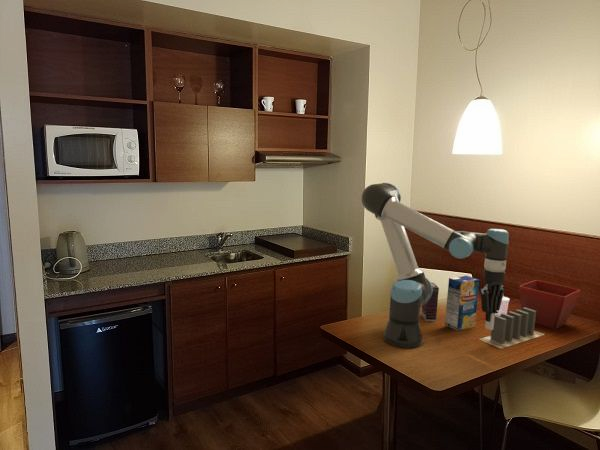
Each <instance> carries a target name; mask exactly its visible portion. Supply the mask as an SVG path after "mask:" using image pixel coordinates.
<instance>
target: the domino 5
mask: <svg viewBox="0 0 600 450" xmlns="http://www.w3.org/2000/svg"><path fill="white" fill-rule="evenodd" d="M521 311H524V312H527V313H529V320H528V329H527V333H528V334H531V335H532V334H534V331H535V328H536V327H535V324H536V323H535V318H536V311H535V310H532V309H528V308H525V307H524V308H523V310H522V309H521Z"/></svg>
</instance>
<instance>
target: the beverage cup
mask: <svg viewBox="0 0 600 450" xmlns="http://www.w3.org/2000/svg"><path fill="white" fill-rule="evenodd" d="M504 294H505V292H504V293H503V295H504ZM509 302H510V298H509V297H507V296H503V297H502V302H501V306H500V310H499V311H498V310H497V312H498V313H495V315H497V316H501V314H502V313H504V314H507V315H508V308H509Z"/></svg>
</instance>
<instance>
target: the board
mask: <svg viewBox="0 0 600 450" xmlns="http://www.w3.org/2000/svg"><path fill="white" fill-rule="evenodd" d="M542 336H545V333H543V332H539V331H536V330H534V334H532V335H531V334H528V333H527V336H526V337H523V336H520V338H519V339H515V338H512V341H510V342H509V341H507V340H505V341H504V344H500V343H498V342H496V341H493V340H491V335H488V336H485V337H482V338H481V337H480V338H478V340H479V341H482V342H485V343H486V344H489V345H491V346H494V347H496V348H498V349H499V350H501V349H505V348H508V347H511V346H514V345H516V344H520V343H523V342H527V341H529V340H533V339H535V338H539V337H542Z"/></svg>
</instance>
